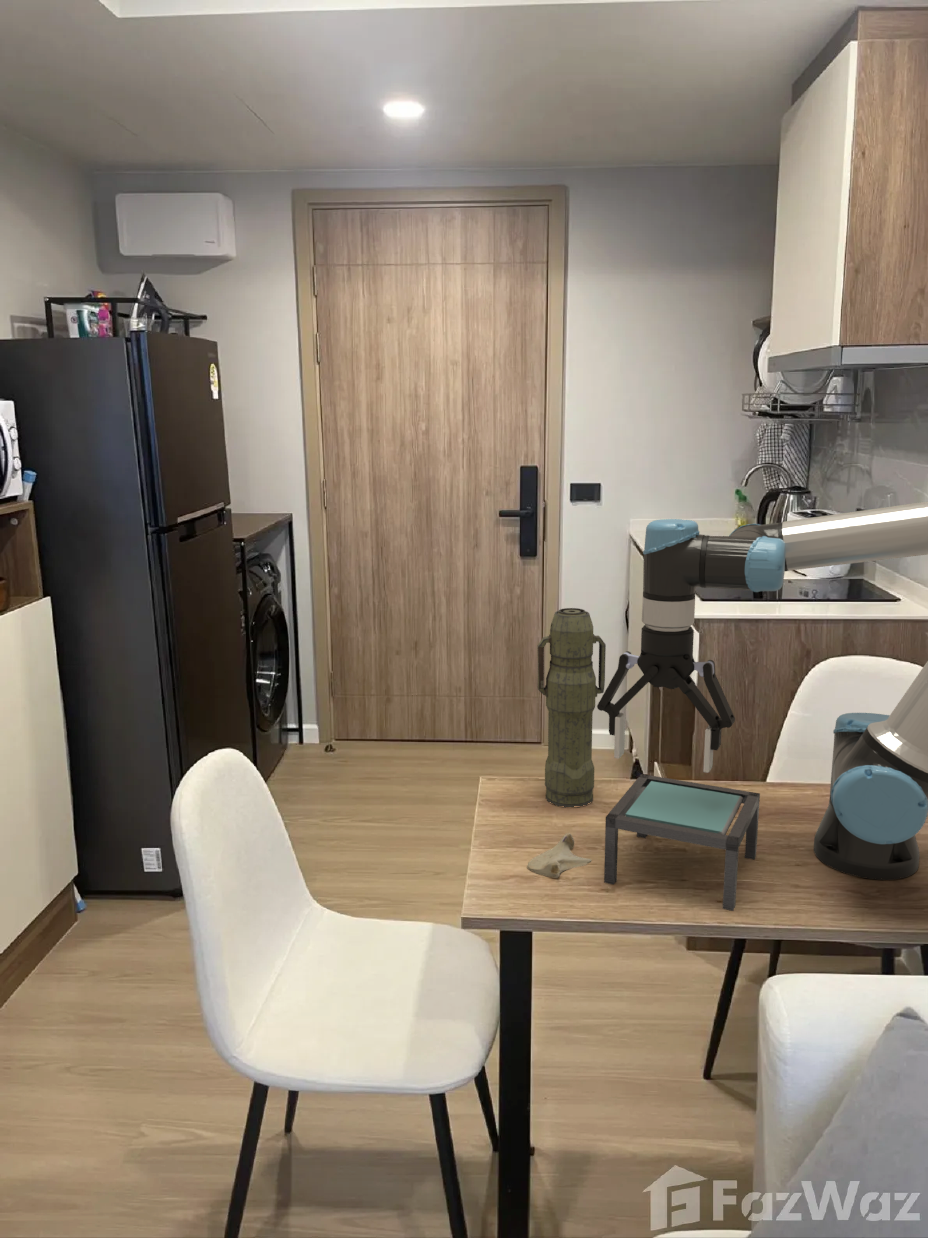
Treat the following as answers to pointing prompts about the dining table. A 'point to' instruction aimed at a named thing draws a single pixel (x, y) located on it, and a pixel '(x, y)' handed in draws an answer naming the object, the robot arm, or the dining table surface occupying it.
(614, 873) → the frame
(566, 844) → the fossil
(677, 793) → the trapdoor
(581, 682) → the thermos
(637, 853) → the dining table surface
